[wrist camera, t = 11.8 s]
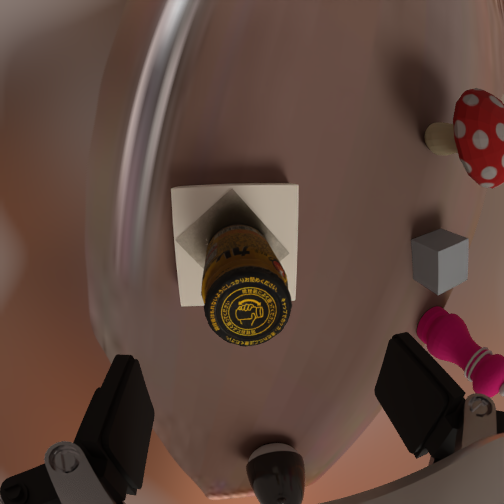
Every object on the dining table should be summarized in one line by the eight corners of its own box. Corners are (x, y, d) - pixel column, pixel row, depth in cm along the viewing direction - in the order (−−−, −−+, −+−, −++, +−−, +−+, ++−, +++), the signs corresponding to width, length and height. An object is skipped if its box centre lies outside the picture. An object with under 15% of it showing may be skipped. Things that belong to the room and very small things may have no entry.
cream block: (177, 186, 29) (171, 188, 25) (288, 182, 30) (298, 184, 27) (185, 290, 33) (181, 306, 29) (287, 285, 34) (295, 300, 30)
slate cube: (410, 239, 34) (438, 251, 28) (440, 228, 34) (468, 238, 28) (412, 278, 36) (437, 295, 30) (441, 265, 36) (467, 279, 30)
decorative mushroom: (393, 167, 31) (484, 175, 17) (401, 88, 28) (484, 63, 14) (450, 188, 33) (531, 205, 18) (457, 117, 30) (535, 113, 15)
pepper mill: (449, 320, 39) (524, 382, 20) (420, 349, 40) (489, 422, 21) (439, 294, 37) (527, 358, 18) (408, 325, 38) (489, 404, 19)
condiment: (234, 298, 29) (243, 375, 18) (175, 239, 27) (144, 290, 15) (289, 252, 28) (332, 306, 17) (231, 187, 26) (240, 201, 15)
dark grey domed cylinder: (296, 429, 42) (317, 499, 27) (300, 456, 45) (317, 516, 30) (238, 440, 41) (247, 513, 27) (249, 466, 44) (258, 528, 30)
